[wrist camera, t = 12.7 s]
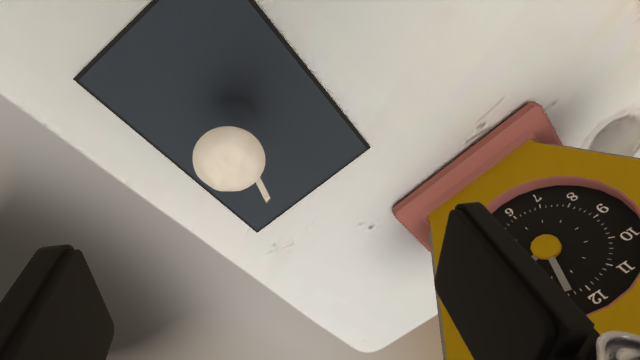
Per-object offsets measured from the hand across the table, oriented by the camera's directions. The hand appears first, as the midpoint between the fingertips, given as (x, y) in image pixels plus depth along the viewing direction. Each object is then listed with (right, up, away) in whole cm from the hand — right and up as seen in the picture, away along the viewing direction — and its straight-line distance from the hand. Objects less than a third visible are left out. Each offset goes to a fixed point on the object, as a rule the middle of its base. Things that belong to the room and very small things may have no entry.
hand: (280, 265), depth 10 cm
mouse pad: (-6, +8, +22) cm, 24 cm away
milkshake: (-6, +7, +21) cm, 23 cm away
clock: (+17, +2, +29) cm, 34 cm away
